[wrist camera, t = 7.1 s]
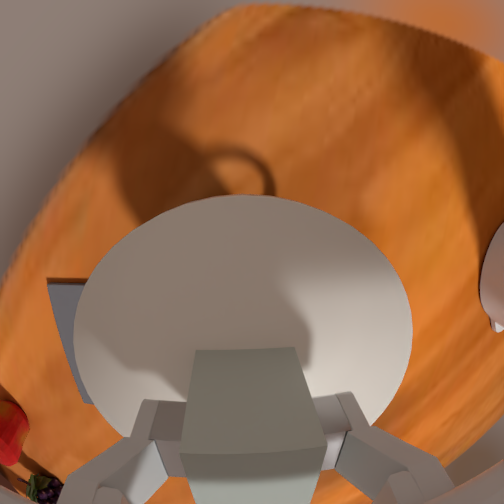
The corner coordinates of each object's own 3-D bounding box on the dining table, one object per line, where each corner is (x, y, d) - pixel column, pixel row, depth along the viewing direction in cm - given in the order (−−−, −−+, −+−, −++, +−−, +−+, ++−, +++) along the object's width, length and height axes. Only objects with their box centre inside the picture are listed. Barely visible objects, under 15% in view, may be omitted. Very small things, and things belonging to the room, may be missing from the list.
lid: (419, 199, 9) (534, 228, 4) (365, 445, 12) (398, 519, 7) (59, 204, 8) (-53, 238, 3) (126, 454, 11) (105, 533, 7)
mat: (195, 283, 27) (194, 286, 26) (208, 411, 31) (208, 414, 30) (49, 282, 26) (46, 284, 25) (85, 399, 30) (84, 402, 30)
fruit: (74, 488, 42) (16, 462, 35) (91, 488, 39) (25, 460, 32) (71, 524, 33) (9, 499, 26) (88, 529, 30) (17, 503, 23)
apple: (-9, 396, 30) (-42, 437, 19) (8, 386, 30) (-29, 434, 18) (24, 433, 32) (-3, 477, 21) (45, 427, 32) (16, 478, 20)
